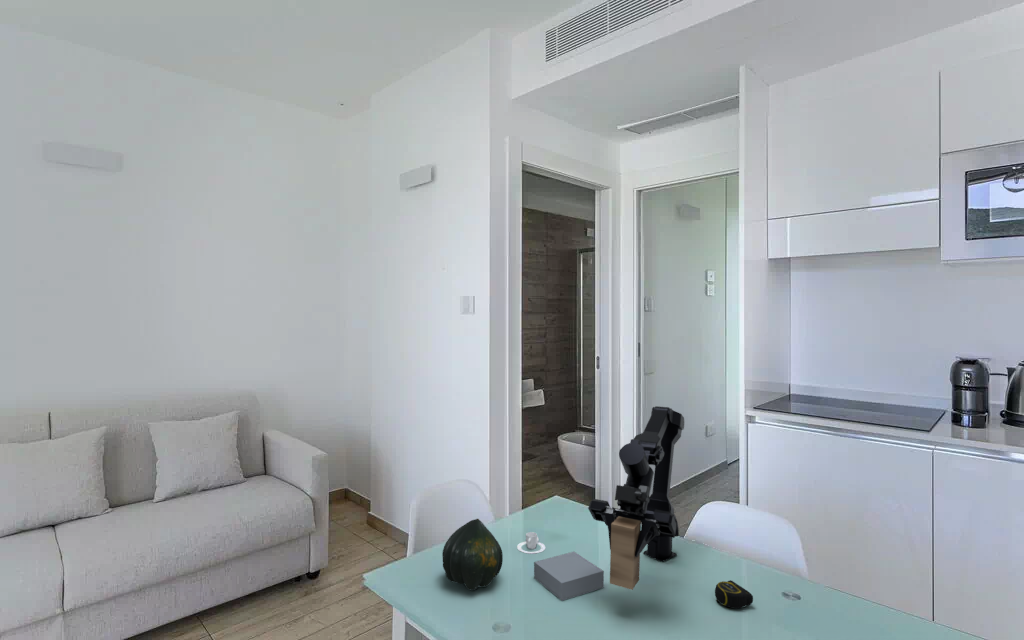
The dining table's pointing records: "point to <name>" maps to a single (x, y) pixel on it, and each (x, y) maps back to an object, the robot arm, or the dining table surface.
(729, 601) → the tape measure
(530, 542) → the teacup and saucer
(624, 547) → the walnut pillar
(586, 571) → the grey base block
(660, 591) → the dining table surface
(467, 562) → the squash
